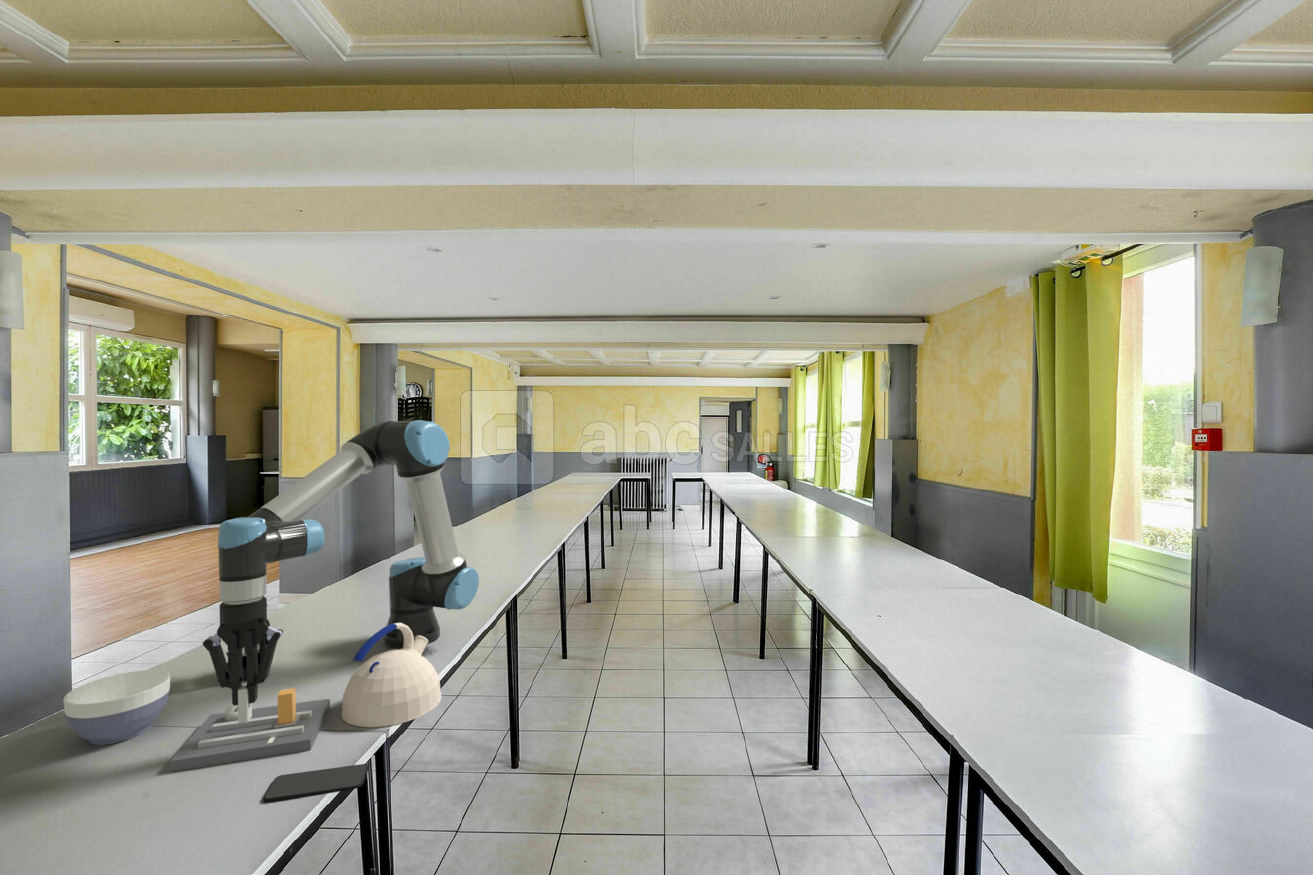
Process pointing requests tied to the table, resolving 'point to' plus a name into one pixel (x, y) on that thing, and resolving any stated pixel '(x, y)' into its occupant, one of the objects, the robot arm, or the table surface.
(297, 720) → the fader tab
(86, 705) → the bowl
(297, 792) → the smartphone
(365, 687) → the kettle
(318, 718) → the console board
